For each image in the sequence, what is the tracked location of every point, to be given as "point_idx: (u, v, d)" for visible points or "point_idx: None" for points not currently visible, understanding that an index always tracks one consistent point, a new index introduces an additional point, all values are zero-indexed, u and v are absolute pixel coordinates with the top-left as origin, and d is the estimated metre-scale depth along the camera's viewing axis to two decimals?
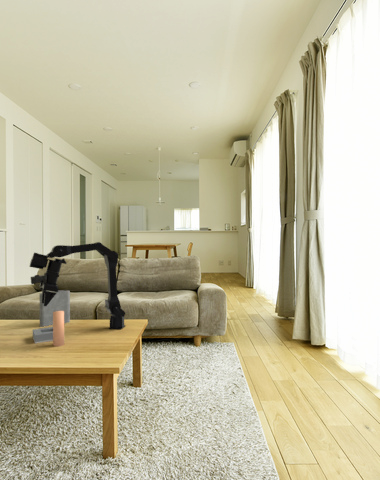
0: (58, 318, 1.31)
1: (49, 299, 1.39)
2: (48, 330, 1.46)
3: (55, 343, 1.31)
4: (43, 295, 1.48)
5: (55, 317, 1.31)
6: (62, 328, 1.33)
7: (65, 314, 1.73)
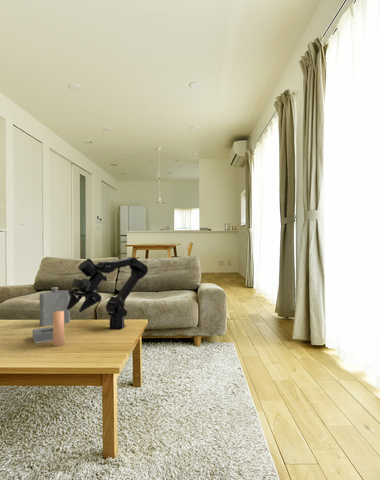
0: (58, 318, 1.31)
1: (87, 306, 1.39)
2: (48, 330, 1.46)
3: (55, 343, 1.31)
4: (71, 302, 1.44)
5: (55, 317, 1.31)
6: (62, 328, 1.33)
7: (65, 314, 1.73)
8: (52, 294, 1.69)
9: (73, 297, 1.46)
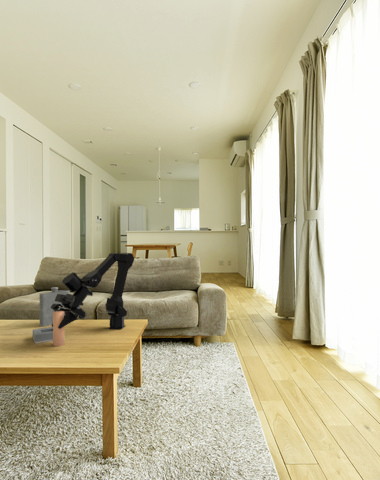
0: (58, 318, 1.31)
1: (67, 323, 1.33)
2: (48, 330, 1.46)
3: (55, 343, 1.31)
4: None
5: (55, 317, 1.31)
6: (62, 328, 1.33)
7: None
8: (52, 294, 1.69)
9: None
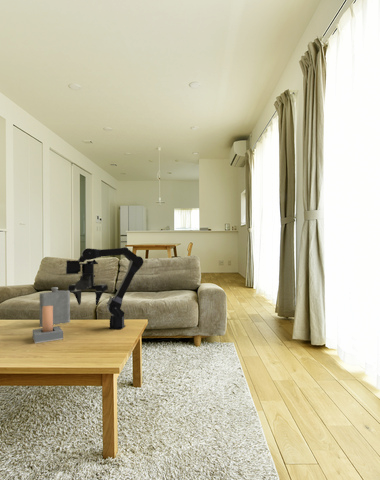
0: (45, 312, 1.42)
1: (99, 297, 1.55)
2: None
3: None
4: (78, 297, 1.55)
5: (42, 311, 1.42)
6: (49, 322, 1.42)
7: (65, 314, 1.73)
8: (52, 294, 1.69)
9: (77, 293, 1.55)
